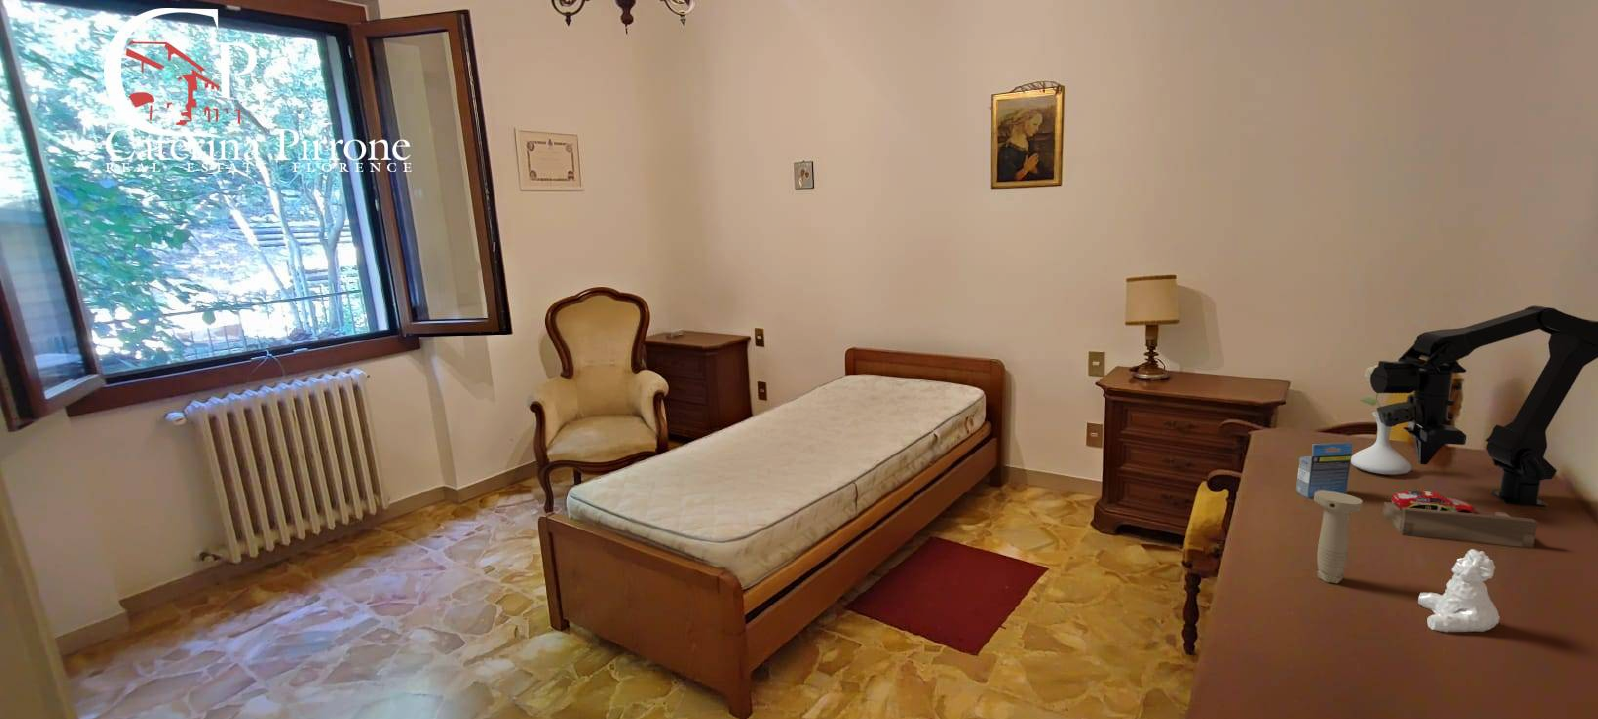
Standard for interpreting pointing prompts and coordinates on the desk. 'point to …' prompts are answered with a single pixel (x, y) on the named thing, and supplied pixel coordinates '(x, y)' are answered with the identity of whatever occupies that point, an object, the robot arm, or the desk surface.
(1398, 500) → the race car
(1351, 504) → the handle
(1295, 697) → the desk surface
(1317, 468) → the label tape box
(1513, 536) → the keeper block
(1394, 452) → the flower in vase
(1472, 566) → the seated beast figurine
